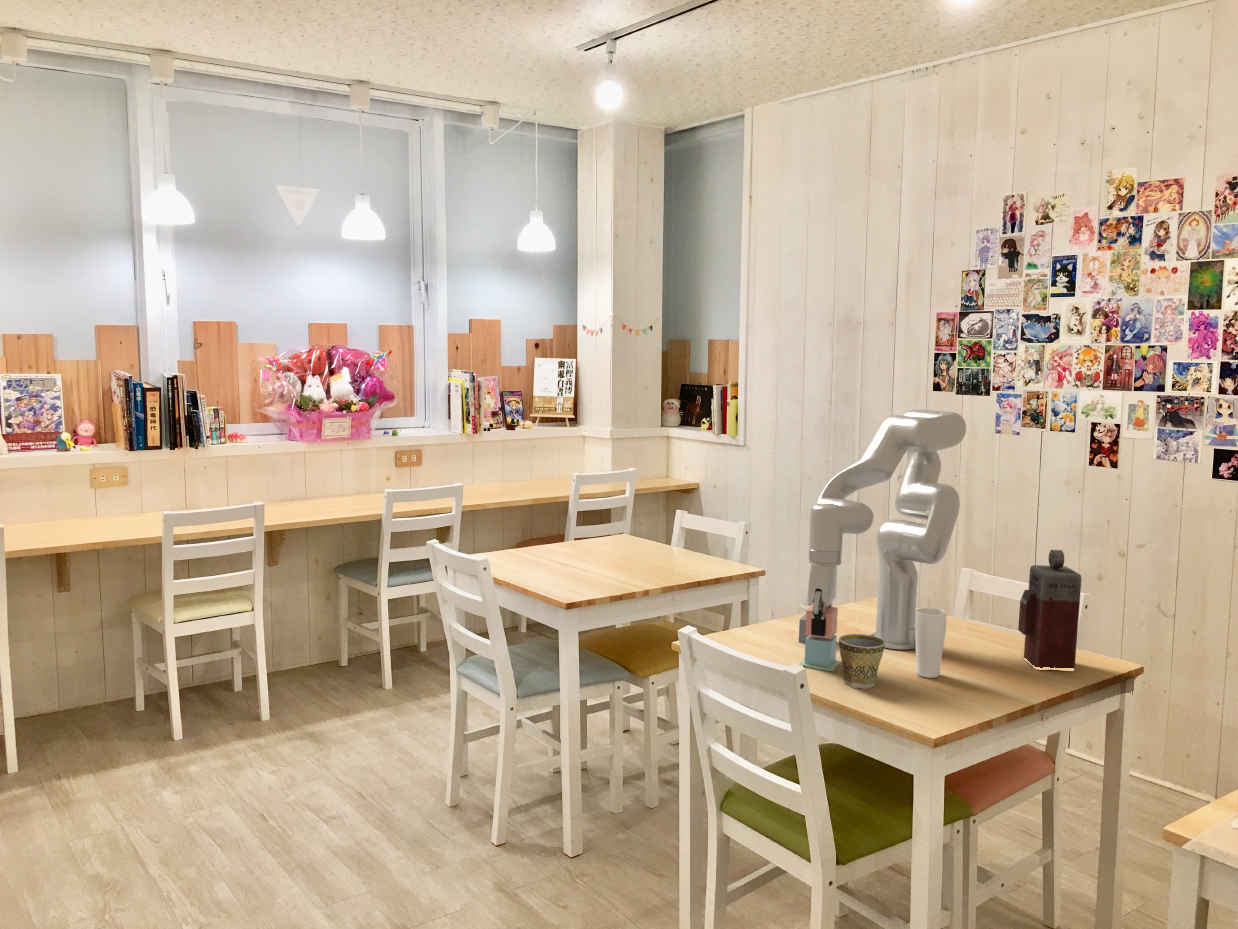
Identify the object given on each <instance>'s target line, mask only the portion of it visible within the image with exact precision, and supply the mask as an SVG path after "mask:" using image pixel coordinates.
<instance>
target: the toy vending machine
mask: <svg viewBox="0 0 1238 929" xmlns="http://www.w3.org/2000/svg"><path fill="white" fill-rule="evenodd" d="M1048 564H1049V565H1041V564H1040V565H1036V564H1035V565H1030V569H1029V578H1028V589H1024V591H1023V593H1022V596H1021V598H1020V600H1019V613H1018V614H1019V615H1018V627H1017V630H1018V631H1019V632H1020V633H1021V634H1022V635H1024V647H1023V648H1024V649H1023V659H1024V658H1026V659H1027V660H1028V661H1029V662H1030V663H1031V664H1032V665H1034V666H1035V667H1040V668H1043V667H1050V668H1054V667H1055V668H1075V667H1076V658H1077V657H1076V656H1077V655H1076V654H1077V642H1078V630H1079V629H1078V628H1079V619H1080V618H1079V617H1080V605H1081V593H1082V592H1081V589H1082V578H1083V577H1082V575H1081V573H1078V572H1076V571H1074V570H1073V569H1072V568H1069V567H1068V566H1066V565H1064V564H1065V554H1064V551H1063V550H1062V549H1050V551H1049V553H1048ZM1075 669H1076V668H1075Z"/></svg>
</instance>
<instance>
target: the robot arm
mask: <svg viewBox="0 0 1238 929" xmlns="http://www.w3.org/2000/svg"><path fill="white" fill-rule="evenodd" d="M966 433H967V423H966V421H965V419H964V417H963V416H962V415H961V414H959V413H957V412H954V411H944V410H943V411H942V410H934V409H933V410H932V409H931V410H929V409H910V410H906V411H905V412H903V413H902V414H901V415H899V414H898V415H897V414H895V415H889V416H888V417H885V418H884V419H883V420H882V421H881V423H880V425H879V427H878V428H877V430H876V431H875V433H874V435H873V436H872V438H871V440H870V441H869V443H868V445H867V447H866V449H865V450H864V452H863V454H862V456H861V457H860V459H859V460H857V461H856V462H854V463H852V464H851V465H850V466H848V467H846V468H845V469H843V470H841V471H840V472H838V473H837V474H836V475H834V476H833V477H832V478H831V479H830V480H829V481H828V482H827V484H826V485H825V487H824V488H823V491H821V493H820V495H819V498H818V499H817V501H816V503H815V504H813V505H812V506H811V509H810V516H809V518H810V520H809V539H808V540H809V544H808V563H809V564H810V570H809V575H808V583H807V584H808V585H807V586H808V587H807V595H806V597H807V598H806V604H807V605H808V606H809V607H810V606H811V605H813V611H812V624H811V634H812V635H817V636H825V629H826V619H825V611H826V607H828V606H829V607H833V602H834V601H835V599H836V597H837V596H836V594H837V583H838V566H840V565H841V564H842V553H843V552H842V551H843V535H844V534H848V535H849V534H850V535H854V534H855V535H858V534H863V533H865V532H867V531H869V529H871V527H872V525H873V522H874V513H873V511H872V509H871V507H870V506H868V504H865V503H862V502H860V501H859V502H858V501H855V500H849V499H847V498H848V497H849V496H851V494H853V493H855V492H857V491H859V490H862V489H865V488H869V487H871V486H872V487H873V486H876V485H879V484H881V483H885V482H887V481H889V480H890V479H891V478H892V477H893V475H894V473H895V471H896V470H897V467H898V466H899V464H900V463H901V461H902V459H903V457H904V456H905V454H906V456H907V457H906V464H905V468H904V472H903V474H902V476H901V477H902V478H901V480H900V483H899V486H898V489H897V492H896V495H895V500H894V507H895V509H896V512H898V513H899V514H901V515H902V516H905V517H909V518H914V519H920V520H925V521H926V523H922V522H921V523H920V522H916V521H912V520H911V521H910V520H905V519H897V518H894V519H888V520H886V521H884V522H883V523H881V524H880V526H879V527H878V529H877V532H876V548H877V554H878V584H877V585H878V586H877V604H876V625H875V632H872V633H871V634H869V635H870V636H874V637H878V638H880V639H882V640H883V641H884V642H885V646H884V649H889V650H900V651H901V650H905V651H906V650H913V649H916V643H915V619H916V610H917V598H918V597H917V596H918V585H919V578H918V577H919V575H918V571H917V567H916V566H915V563H916V562H917V563H921V564H926V565H936V564H938V563H939V562H940V561H942V559H943V558H944V556H945V555H946V553H947V550H948V547H949V544H950V542H951V538H952V535H953V531H954V530H955V529H954V528H955V526H956V522H957V519H958V516H959V512H960V502H961V501H960V496H959V493H958V491H957V490H956V488H954V487H953V486H951V485H950V484H949V485H948V484H945V483H939V482H938V481H939V477H940V474H941V471H942V462H941V458H940V456H939V453H938V451H941V450H942V451H944V450H947V449H951V448H953V447H955V446H958V445H959V444H960V443H961V442H962V441H963V440H964V439H965V436H966ZM819 609H822V611H821V610H819Z"/></svg>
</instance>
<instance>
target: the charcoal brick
mask: <svg viewBox="0 0 1238 929" xmlns="http://www.w3.org/2000/svg"><path fill="white" fill-rule="evenodd" d="M798 623H799V625H798V630H799V631H798V643H801V642H802V644H805V641H806V638H807V637H808V636H807V635H805V632H806V613H805V614H804V615H803V616H802V617H801V618H800V619H799V622H798Z"/></svg>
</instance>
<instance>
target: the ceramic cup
mask: <svg viewBox="0 0 1238 929" xmlns="http://www.w3.org/2000/svg"><path fill="white" fill-rule="evenodd" d="M870 635H871V634H869V635H868V634H863V633H859V634H858V633H852V634H851V633H850V634H849V633H848V634H843V635H841V636H839V638H838V646H839V654H840V659H841V667H842V675H843V682H844V685H846V686H849V687H850V688H852V687H853V688H854V689H859V688H861V689H860V690H867V689H873V688H874V687H875V684H876V681H877V674H878V670H879V668H880V667H879V666H880V663H881V660H882V658H883V655H884V651H885V648H884V646H885V642H884V641H883V640H882V639H880V638H878V637H874V636H870Z"/></svg>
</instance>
